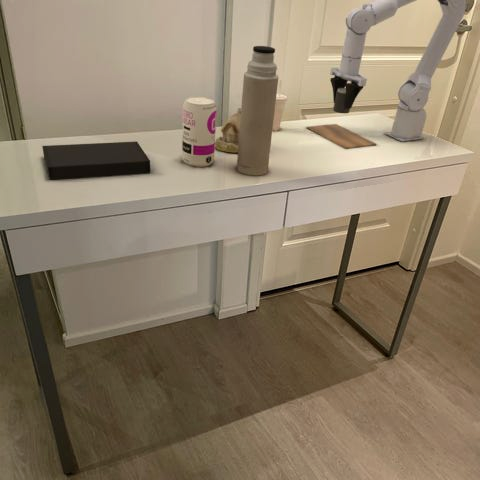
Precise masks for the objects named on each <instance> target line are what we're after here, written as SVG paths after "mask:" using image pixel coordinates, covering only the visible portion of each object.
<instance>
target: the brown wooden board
mask: <svg viewBox="0 0 480 480" xmlns="http://www.w3.org/2000/svg"><path fill="white" fill-rule="evenodd" d="M306 129H308V130H309V131H311V132H313V133H315V134H316V135H318V136H321V137H323V138H324V139H327V140H328V141H330V142H332V143H334V144H336V145H338V146H339V147H341V148H343V149H345V150H347V149H355V148H363V147H364V148H365V147H372V146H377V143H375V142H374V141H372V140H369V139H367V138H365V137H363V136H361V135H359V134H357V133H356V132H353V131H351V130H349V129H347V128H345V127H343V126H341V125H339V124H337V123H334V124H321V125H312V126H306Z"/></svg>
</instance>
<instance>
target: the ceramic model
mask: <svg viewBox="0 0 480 480" xmlns="http://www.w3.org/2000/svg"><path fill="white" fill-rule="evenodd" d="M240 119H241V107H239V108H238V109H237V111H236V112H235V113H233V114H232V116H231V117H230V118H228V120H226V121H225V123H224V124H223V125H222V127H221V128H220V132H221V134H222V136H219V137H217V139H216V138H215V148H216V150H218V151H222V152H226V153H238V145H239V132H240Z"/></svg>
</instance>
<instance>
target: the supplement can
mask: <svg viewBox="0 0 480 480" xmlns="http://www.w3.org/2000/svg"><path fill="white" fill-rule="evenodd" d="M217 108H218V107H217V106H216V103H215V100H214V99H212V98H210V97H206V96H189V97H186V98H185V101H184V102H183V104H182V138H181V139H182V140H181V143H182V147H181V150H182V151H181V152H182V153H181V157H182V158H181V159H182V161H184V163H185V164H186V165H188V166H191V167H197V168H199V167H201V168H202V167H208V166H210V165H211V164H212V163H214V161H215V152H216V151H215V148H216V145H215V141H216V130H217V129H216V128H217Z"/></svg>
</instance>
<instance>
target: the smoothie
mask: <svg viewBox="0 0 480 480" xmlns="http://www.w3.org/2000/svg"><path fill="white" fill-rule="evenodd" d="M281 89H282V80H279V82H278V90H277V95H276V103H275V112H274V121H273V129H272V132H277V131H279V130H280V127H281V123H282V120H283V119H282V118H283V115H284V111H285V107H286V102H287V101H288V96H286V95H284V94H281Z"/></svg>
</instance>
